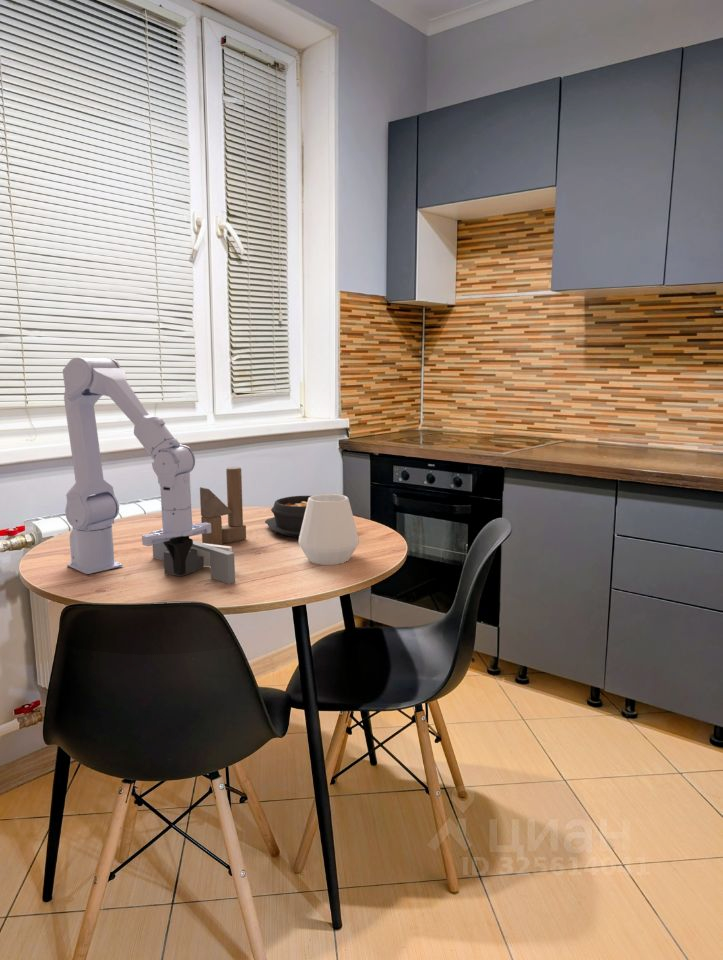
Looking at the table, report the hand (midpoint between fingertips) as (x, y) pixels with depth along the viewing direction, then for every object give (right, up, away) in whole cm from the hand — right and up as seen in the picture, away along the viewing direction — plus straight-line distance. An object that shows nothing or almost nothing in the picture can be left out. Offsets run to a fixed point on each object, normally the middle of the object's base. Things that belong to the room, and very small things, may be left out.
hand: (179, 573), depth 135 cm
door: (+2, +1, +9) cm, 9 cm away
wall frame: (+1, 0, +7) cm, 7 cm away
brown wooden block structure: (+3, +3, +29) cm, 29 cm away
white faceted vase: (+29, +1, +15) cm, 33 cm away
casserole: (+22, +5, +39) cm, 45 cm away
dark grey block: (-1, 0, +6) cm, 6 cm away
